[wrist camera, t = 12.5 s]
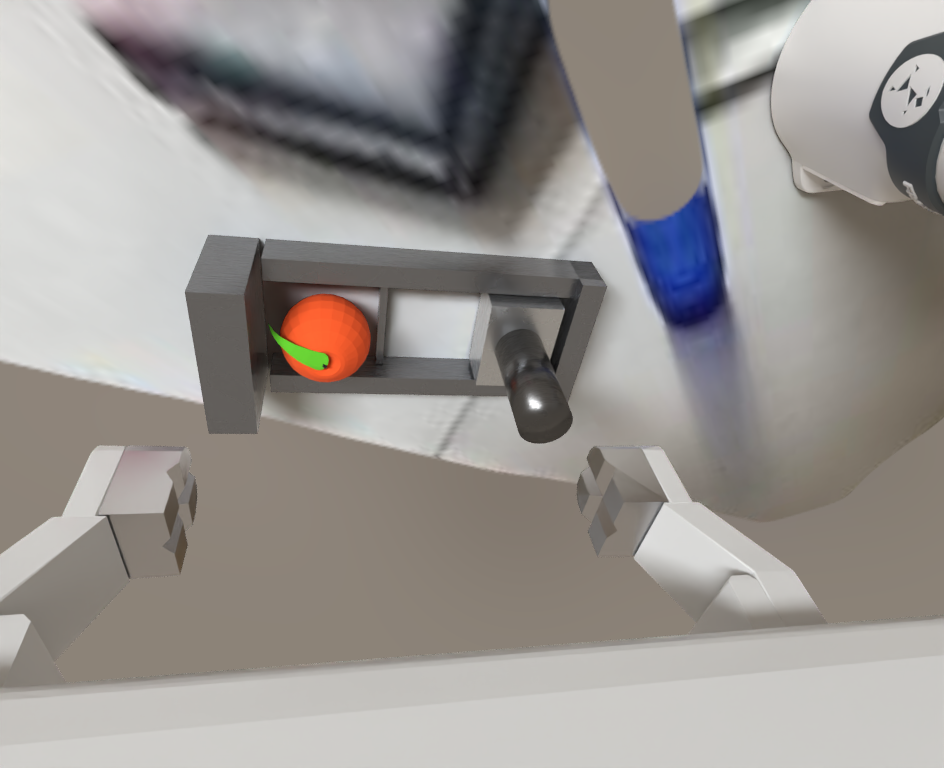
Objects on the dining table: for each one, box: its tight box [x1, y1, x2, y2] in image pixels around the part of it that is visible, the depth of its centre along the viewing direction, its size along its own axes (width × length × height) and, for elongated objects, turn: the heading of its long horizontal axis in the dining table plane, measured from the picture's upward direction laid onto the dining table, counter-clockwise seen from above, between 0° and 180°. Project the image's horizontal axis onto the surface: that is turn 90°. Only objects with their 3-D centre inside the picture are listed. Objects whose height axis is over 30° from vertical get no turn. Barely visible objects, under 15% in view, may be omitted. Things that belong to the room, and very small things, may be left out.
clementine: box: [268, 294, 371, 382], centre depth 46 cm, size 8×7×7 cm
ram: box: [469, 293, 573, 443], centre depth 47 cm, size 6×8×13 cm
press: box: [185, 235, 607, 434], centre depth 47 cm, size 30×12×8 cm, turn 81°
